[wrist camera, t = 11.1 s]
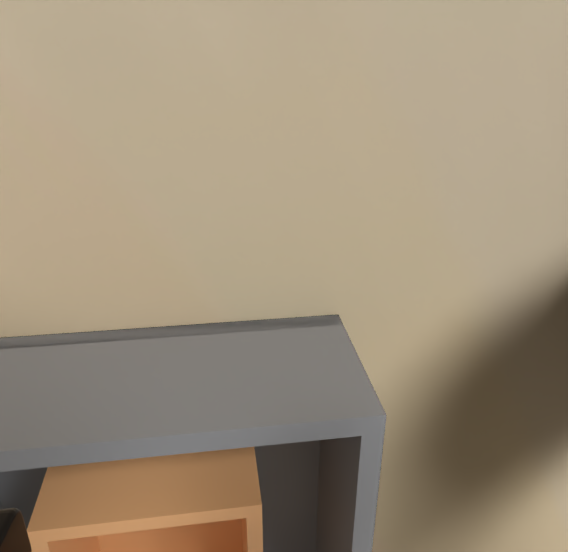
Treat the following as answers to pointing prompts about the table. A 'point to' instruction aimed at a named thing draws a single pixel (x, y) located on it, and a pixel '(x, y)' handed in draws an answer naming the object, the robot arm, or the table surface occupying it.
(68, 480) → the orange crate
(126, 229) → the table surface
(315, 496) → the grey crate
